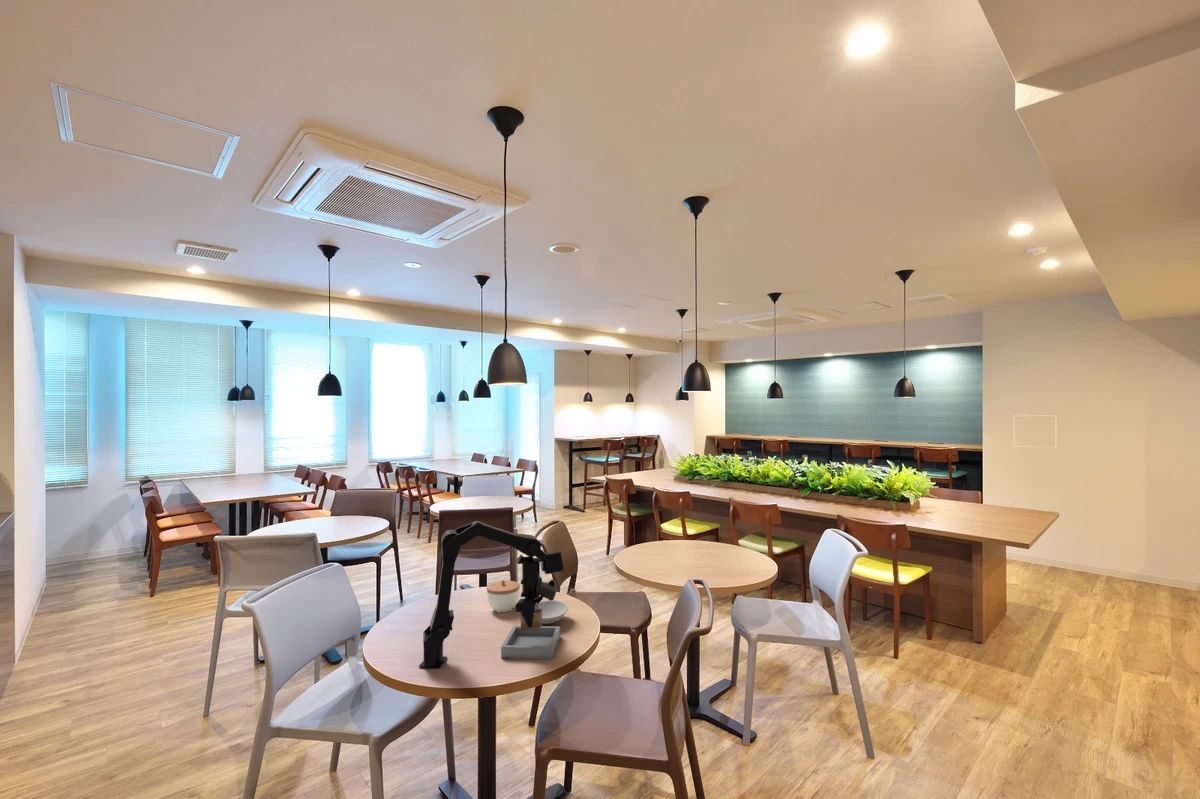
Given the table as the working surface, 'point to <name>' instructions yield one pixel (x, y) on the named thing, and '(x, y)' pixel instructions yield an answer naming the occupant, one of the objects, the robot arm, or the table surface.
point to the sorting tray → (531, 643)
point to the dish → (552, 610)
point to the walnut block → (536, 621)
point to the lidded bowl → (503, 595)
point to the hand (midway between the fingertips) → (531, 624)
